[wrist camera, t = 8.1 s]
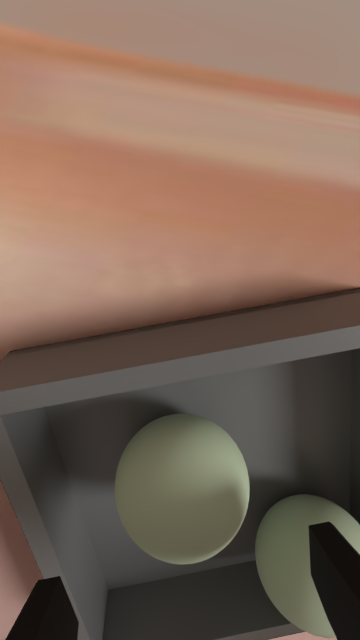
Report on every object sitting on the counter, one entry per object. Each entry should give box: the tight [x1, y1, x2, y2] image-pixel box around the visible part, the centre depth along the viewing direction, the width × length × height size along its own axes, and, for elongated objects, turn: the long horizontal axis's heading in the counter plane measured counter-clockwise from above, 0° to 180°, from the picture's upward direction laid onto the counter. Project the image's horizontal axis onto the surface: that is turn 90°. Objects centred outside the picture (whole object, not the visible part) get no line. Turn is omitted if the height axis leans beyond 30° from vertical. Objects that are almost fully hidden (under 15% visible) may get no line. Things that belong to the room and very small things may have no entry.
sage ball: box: [115, 414, 250, 564], centre depth 13 cm, size 5×5×5 cm
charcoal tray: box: [0, 288, 360, 640], centre depth 14 cm, size 15×15×4 cm
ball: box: [255, 494, 360, 638], centre depth 15 cm, size 5×5×5 cm
